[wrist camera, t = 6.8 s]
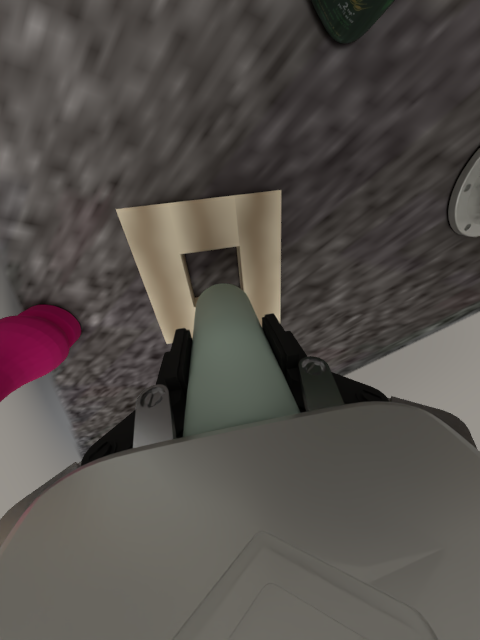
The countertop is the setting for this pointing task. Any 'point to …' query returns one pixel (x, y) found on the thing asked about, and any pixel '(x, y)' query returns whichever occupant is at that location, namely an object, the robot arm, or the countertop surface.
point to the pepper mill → (34, 344)
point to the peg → (232, 366)
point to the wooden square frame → (201, 235)
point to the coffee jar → (349, 16)
